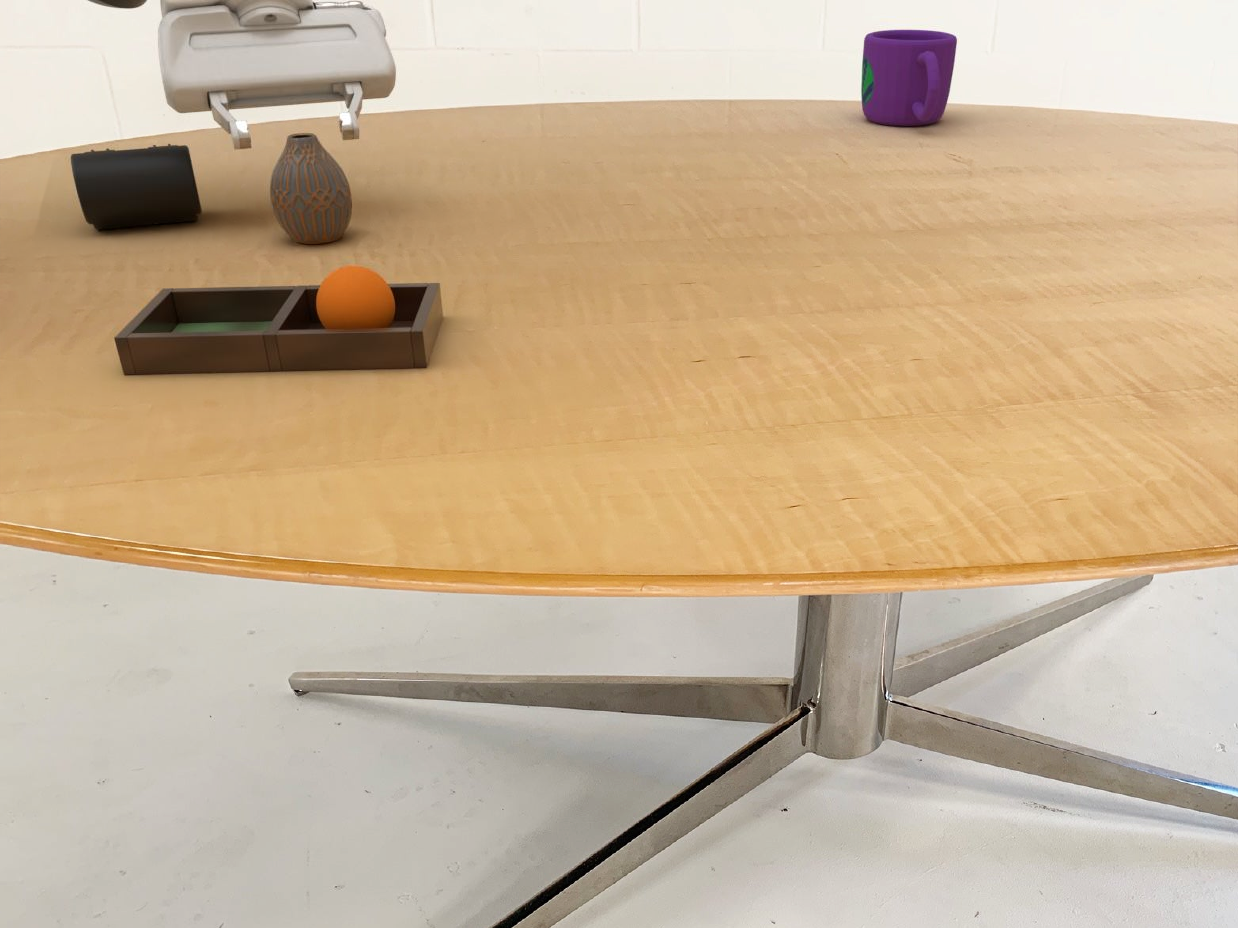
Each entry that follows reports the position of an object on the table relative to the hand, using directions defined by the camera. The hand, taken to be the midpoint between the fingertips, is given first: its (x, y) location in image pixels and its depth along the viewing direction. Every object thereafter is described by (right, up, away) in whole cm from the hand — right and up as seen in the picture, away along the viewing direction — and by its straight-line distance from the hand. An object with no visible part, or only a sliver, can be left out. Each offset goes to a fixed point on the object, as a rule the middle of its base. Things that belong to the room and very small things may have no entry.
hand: (297, 140), depth 103 cm
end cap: (-16, -6, +6) cm, 18 cm away
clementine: (+11, -23, -23) cm, 34 cm away
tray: (+7, -24, -23) cm, 33 cm away
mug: (+64, +19, +45) cm, 80 cm away
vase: (+1, -8, +2) cm, 9 cm away
